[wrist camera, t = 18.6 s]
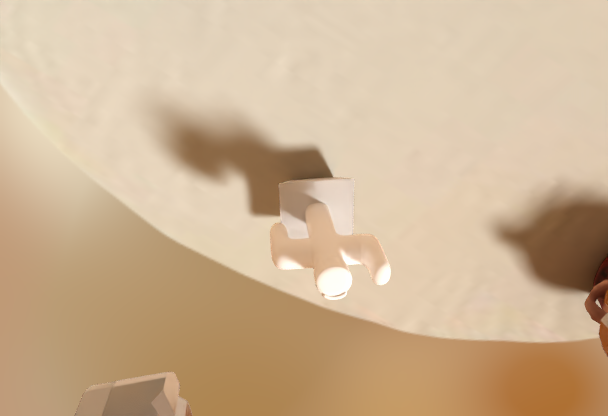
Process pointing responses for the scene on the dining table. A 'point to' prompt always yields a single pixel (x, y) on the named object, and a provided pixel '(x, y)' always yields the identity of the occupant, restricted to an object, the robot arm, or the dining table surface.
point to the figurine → (324, 235)
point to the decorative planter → (598, 294)
